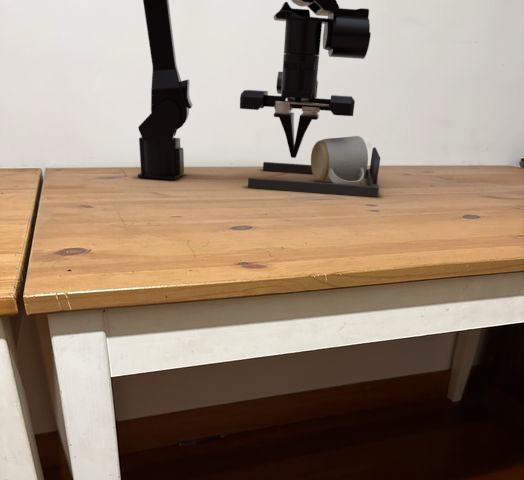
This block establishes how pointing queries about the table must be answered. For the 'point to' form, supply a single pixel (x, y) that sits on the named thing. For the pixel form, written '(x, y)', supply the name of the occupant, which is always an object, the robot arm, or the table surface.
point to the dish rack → (318, 186)
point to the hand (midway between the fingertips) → (293, 157)
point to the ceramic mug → (340, 160)
